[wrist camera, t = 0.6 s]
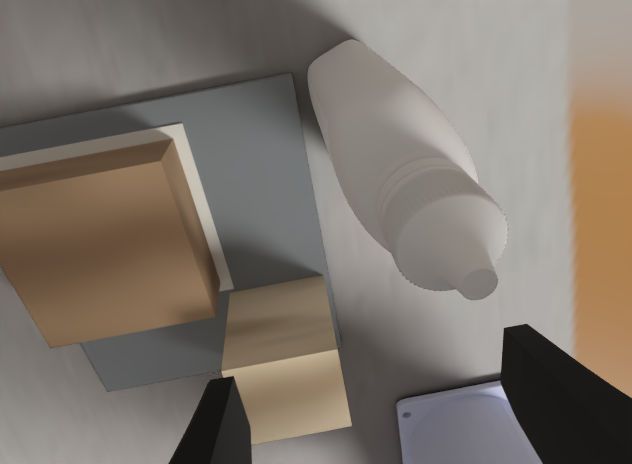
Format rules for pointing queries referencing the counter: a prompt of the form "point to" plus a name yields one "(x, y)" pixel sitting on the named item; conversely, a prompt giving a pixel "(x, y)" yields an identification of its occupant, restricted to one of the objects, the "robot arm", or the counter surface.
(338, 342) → the slate mat
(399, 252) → the eye dropper bottle
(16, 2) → the counter surface
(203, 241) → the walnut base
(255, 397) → the beech block
